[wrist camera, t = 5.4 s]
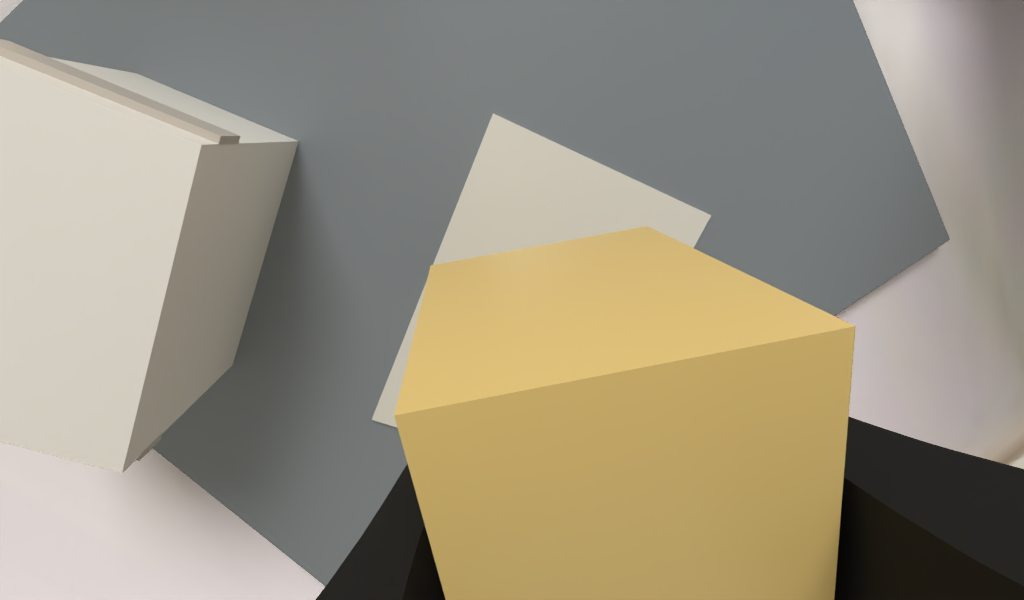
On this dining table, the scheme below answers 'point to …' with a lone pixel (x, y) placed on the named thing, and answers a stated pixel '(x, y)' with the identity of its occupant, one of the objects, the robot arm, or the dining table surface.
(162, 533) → the dining table surface
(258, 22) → the baseplate
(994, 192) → the dining table surface
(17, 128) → the cream brick
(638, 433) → the ochre brick
